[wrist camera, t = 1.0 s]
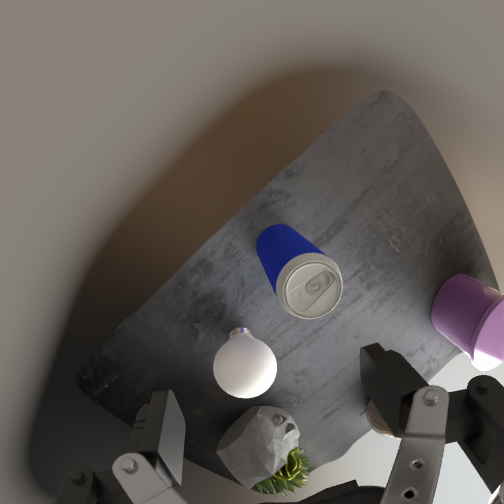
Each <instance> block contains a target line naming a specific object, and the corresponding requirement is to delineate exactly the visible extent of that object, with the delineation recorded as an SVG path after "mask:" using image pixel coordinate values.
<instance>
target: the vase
mask: <svg viewBox="0 0 504 504" xmlns="http://www.w3.org/2000/svg"><path fill="white" fill-rule="evenodd" d="M366 416H367V420H368V422H369V424H370V426H371V427H372V429H373V430H374V431H376V432H377V433H378V434H380V435H383V436H388V437H394V438H395V436H394V435H393V433H392V432H391V430H390V429H389V427H388V425H387V424H386V422H385V421H384V419H383V417H382V416H381V414H380V413H379V411H378V410H377V408H376V406H375V405H374V403H373V402H372V400H371V399H370V401H369V403H368V405H367V408H366ZM402 436H403V435H402ZM402 436H399V437H397V438H396V439H402Z"/></svg>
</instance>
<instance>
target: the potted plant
mask: <svg viewBox="0 0 504 504" xmlns="http://www.w3.org/2000/svg"><path fill="white" fill-rule="evenodd" d="M299 435H300V433H299V431H298V428H297V426H296V424H295V422H294V419H293V418H292V417H291V416H290V415H289V414H288V413H287V412H285V411H284V410H282V409H281V408H277V407H272V406H254V407H251V408H249V409H248V410H247V411H246V412H245V413H244V414H243V415H242V416H240V417H239V418H238V419H237V420H236V421H235V422H234V423H233V424H232V425H231V426H230V427H229V428H228V430H227V431H226V432H225V434H224V435H223V437H222V438H221V440H220V441H219V443H218V445H217V450H216V452H217V454H218V455H219V457H220V458H221V460H222V461H223V463H224V464H225V466H226V467H227V468H228V470H229V471H230V472H231V474H232V475H233V476H234V477H235V478H236V479H237V480H238V481H239V482H240V483H242V484H243V485H244V486H245V487H246V488H247V489H250V488H251V487H252V486H253V485H254V484H255V483H256V486H257V488H258V489H259V490H260V491H261V493H262V494H263V491H262V488H261V486H262V487H263V489H264V490H265V491H266V492H267V493H268V494H269V492H268V490H267V488H268V489H269V490H270V491H271V492H272V493H273V494H274V496H276V495H275V494H277V493H276V491H275V489H274V487H273V484H274V485H275V486H276V487H277V488H278V489H279V490H280V492H281V493H282V494H283V495H284V494H285V495H286V493H285V491H284V489H286V490H290V491H293V492H296V491H295V489H294V487H293V486H296V487H300V488H301V486H300V485H305V484H304V482H307V481H306V480H308V479H307V476H308V475H309V474H308V473H307V472H306V470H304V469H308V468H307V467H306V466H313V465H311V464H310V463H309V462H310V461H309V462H307V461H308V460H306V459H308V457H306V456H303V455H299V454H298V453H301V452H305V451H302V450H303V449H300V448H299V443H298V440H297V439H298V437H299ZM313 467H314V466H313ZM307 474H308V475H307ZM305 478H306V479H305ZM264 483H265V484H266V486H267V488H266V486H265V484H264ZM292 485H293V486H292ZM283 488H284V489H283ZM269 495H270V494H269Z"/></svg>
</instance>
